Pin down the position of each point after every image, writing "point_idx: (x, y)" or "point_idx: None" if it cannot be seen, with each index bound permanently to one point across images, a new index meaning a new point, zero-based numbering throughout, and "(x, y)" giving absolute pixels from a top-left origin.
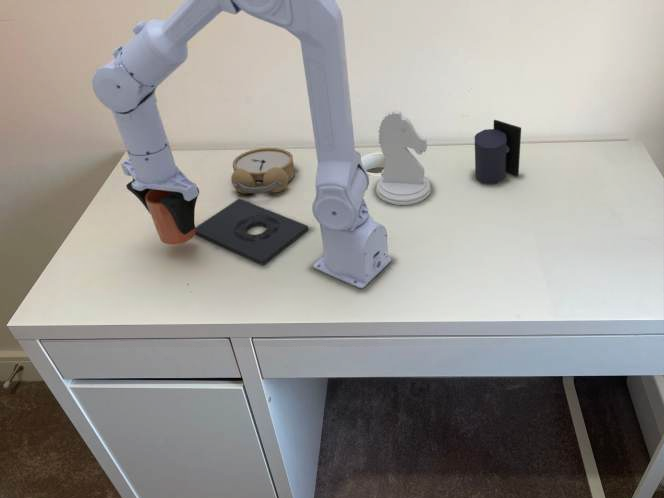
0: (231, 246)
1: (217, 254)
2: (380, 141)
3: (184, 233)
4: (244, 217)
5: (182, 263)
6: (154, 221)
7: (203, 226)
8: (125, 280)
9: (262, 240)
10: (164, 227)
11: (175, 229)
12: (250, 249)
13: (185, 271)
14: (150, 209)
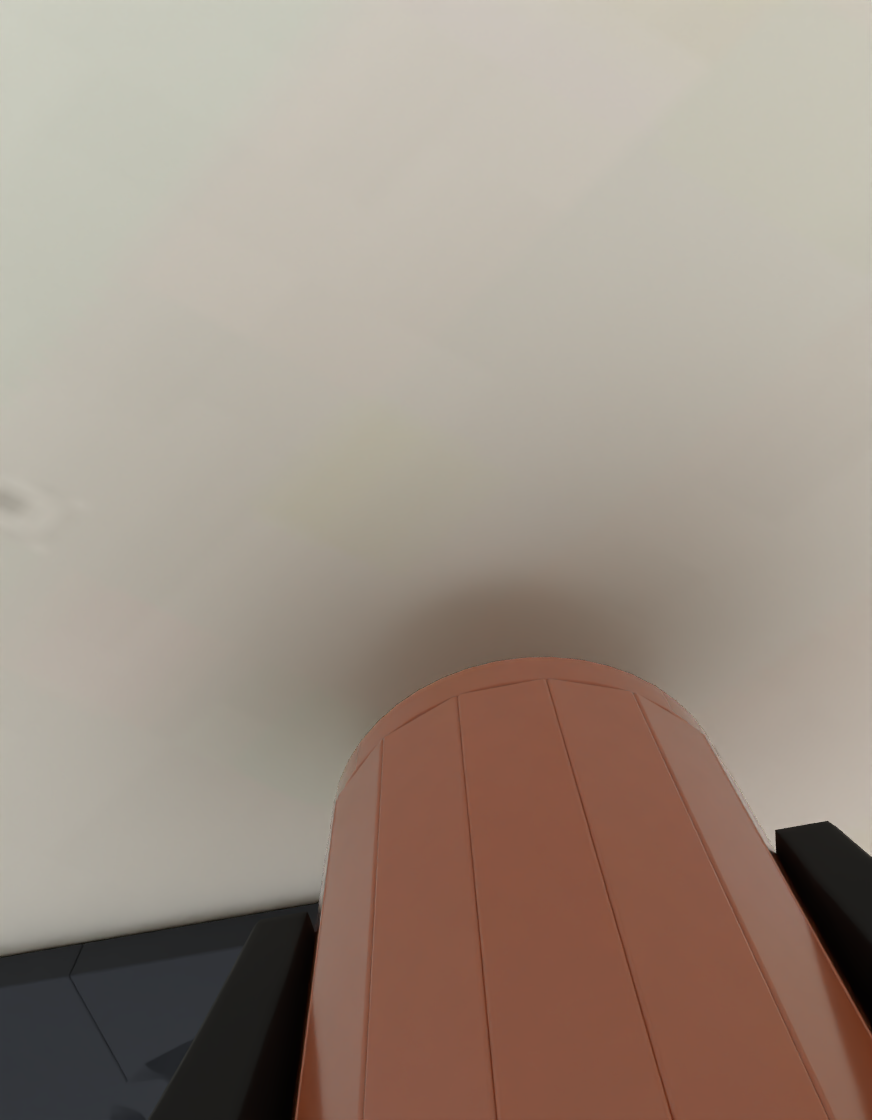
0: (194, 962)
1: (240, 841)
2: None
3: (251, 937)
4: None
5: (336, 606)
6: (596, 897)
7: None
8: (520, 33)
9: (108, 1107)
10: (408, 893)
11: (317, 939)
12: (62, 1022)
13: (205, 571)
14: None
